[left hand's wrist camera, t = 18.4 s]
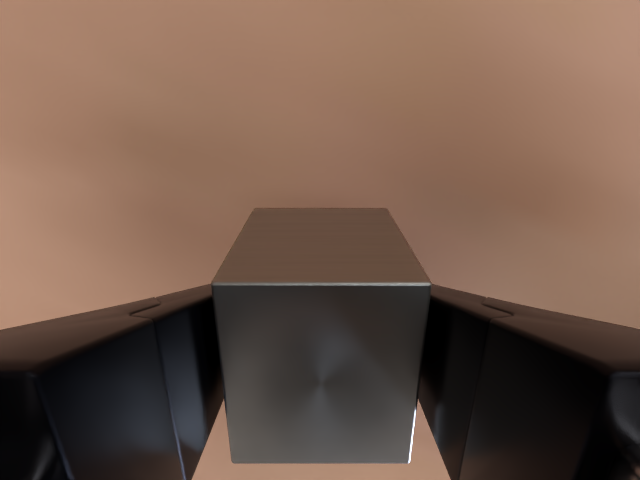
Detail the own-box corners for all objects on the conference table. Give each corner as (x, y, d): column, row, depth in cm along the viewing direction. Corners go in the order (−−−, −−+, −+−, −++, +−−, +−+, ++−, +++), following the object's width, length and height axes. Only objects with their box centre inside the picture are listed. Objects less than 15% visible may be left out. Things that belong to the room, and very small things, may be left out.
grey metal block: (254, 207, 11) (209, 282, 7) (387, 207, 11) (433, 282, 7) (261, 335, 13) (230, 465, 8) (378, 335, 13) (411, 465, 8)
